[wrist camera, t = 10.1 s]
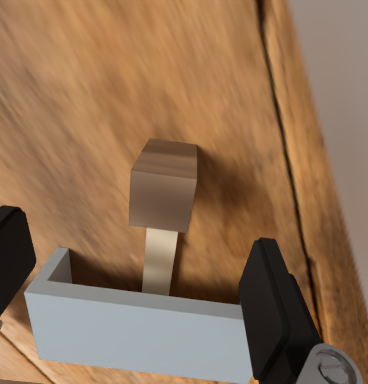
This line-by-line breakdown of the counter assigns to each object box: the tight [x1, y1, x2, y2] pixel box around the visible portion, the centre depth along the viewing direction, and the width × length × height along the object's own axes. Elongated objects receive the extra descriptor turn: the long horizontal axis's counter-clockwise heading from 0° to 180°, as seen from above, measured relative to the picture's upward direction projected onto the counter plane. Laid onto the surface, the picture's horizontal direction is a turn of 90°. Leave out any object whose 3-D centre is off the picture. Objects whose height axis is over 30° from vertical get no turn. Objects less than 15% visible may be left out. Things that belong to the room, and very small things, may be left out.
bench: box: [24, 247, 253, 384], centre depth 27 cm, size 10×22×6 cm, turn 82°
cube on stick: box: [129, 138, 197, 296], centre depth 23 cm, size 20×4×7 cm, turn 172°
